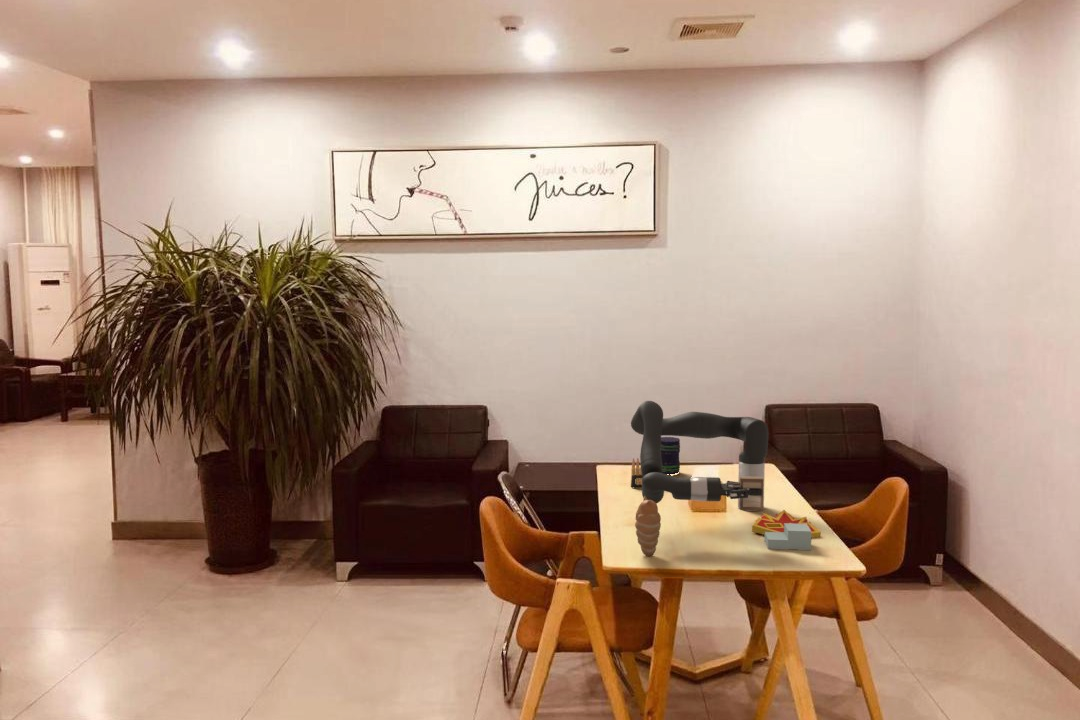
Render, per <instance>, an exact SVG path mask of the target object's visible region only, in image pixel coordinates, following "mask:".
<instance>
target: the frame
mask: <svg viewBox="0 0 1080 720" xmlns="http://www.w3.org/2000/svg"><path fill="white" fill-rule="evenodd" d="M763 483H764V484H765V478H764V479H763V477H743V476H740V486H742V487H743V488H749V489H750V488H761V489H762V495H761V496H754V495H749V496H748V498H739V508H738V509H739V510H740V511H747V510H760V511H764V509H763ZM742 494H744V492H742Z"/></svg>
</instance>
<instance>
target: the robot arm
mask: <svg viewBox="0 0 1080 720" xmlns="http://www.w3.org/2000/svg"><path fill="white" fill-rule="evenodd" d="M630 427H631V429H632V430H633V431H634V432H635V433H636V434H638V435H642V442H641V447H640V452H639V453H640V455H639V457H640V460H639V463H640V465H641V472H642V488H641V495H642V498H643V499H644V496H645V497H646V498H647V500H652V501H654V502H655V503H656V504H658V503H660V502H662V500H663V498H664V496H665V492H667V493H671V496H672V498H673V499H675V500H682V501H697V502H721V500H722V496H725V497H727V498H729V499H730V500H737V508H738V509H740V508H739V498H748V496H749V495H754V496H761V495H762V489H761V488H750V489H749V488H743V487H742V486H740V476H743V477H763V479H764V480H765V475H766V474H765V468H766V467H765V466H766V465H765V464H766V462H765V461H766V457H767V455H768V447H769V446H768V445H769V428H768V425H767V423H766V422H765V421H764V420H763V419H762V420H761V419H758V418H755V417H752V416H723V415H719V414H715V413H710V412H709V413H708V412H702V411H689V412H688V411H687V412H684V413H681V414H677V415H675V416H672V417H668V418H664V411H663V408H662V407H661V405H660V404H658V403H657V402H655V401H652V400H645V401H643V402H642V403H641V404H640V405H638V407H637V409H636V411H635V413H634V415H632V418H631V422H630ZM661 437H688V438H695V439H715V438H716V439H717V438H721V437H722V438H730V439H736V440H738V441H739V440H740V441H742V442H744V443H745V444H744V450H743V451H741V452H740V453H739V454H738V481H731V480H727V481H726V483H722V481H721V478H720V477H717V476H716V477H711V476H710V477H709V476H707V477H705V476H703V477H702V476H701V477H699V476H696V477H678V476H671V475H667V474H663V473H662V457H661ZM742 492H744V494H742ZM764 509H765V482H764V483H763V510H764ZM746 511H748V512H759V511H761V510H746Z"/></svg>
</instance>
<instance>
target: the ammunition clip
mask: <svg viewBox="0 0 1080 720" xmlns="http://www.w3.org/2000/svg"><path fill="white" fill-rule="evenodd" d="M630 469H631V472H630V473H631V474H630V475H631V476H630V488H631V487H642V472H641V464H640V460H639V457H638V458H636V461H635V458H632V461H631V468H630Z"/></svg>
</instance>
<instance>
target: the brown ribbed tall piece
mask: <svg viewBox="0 0 1080 720" xmlns="http://www.w3.org/2000/svg"><path fill="white" fill-rule="evenodd" d="M657 504H658V503H655V502H654V501H652V500H647V498H646V497H645V496H644V498H643V501H641V503H640V504H639V505H638V507H637V510H636V512H635V520H636V521H635V523H634V526H635V529H636V530H635V535H636V537H637V543H638V544H639V546H640V549H641V552H642V554H643V555H645V556H646V557H651V556H653V555H655V553H656V551H657V545H658V542H659V537H660V534H661V533H660V530H661V527H662V526H661V525H662V524H661V520H662V518H661V515H660V513H659V507H658V505H657Z"/></svg>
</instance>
